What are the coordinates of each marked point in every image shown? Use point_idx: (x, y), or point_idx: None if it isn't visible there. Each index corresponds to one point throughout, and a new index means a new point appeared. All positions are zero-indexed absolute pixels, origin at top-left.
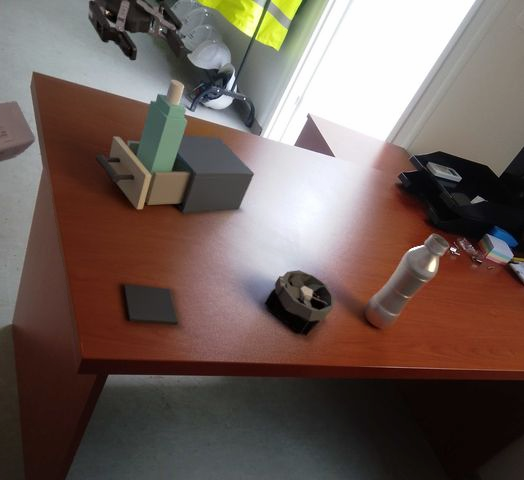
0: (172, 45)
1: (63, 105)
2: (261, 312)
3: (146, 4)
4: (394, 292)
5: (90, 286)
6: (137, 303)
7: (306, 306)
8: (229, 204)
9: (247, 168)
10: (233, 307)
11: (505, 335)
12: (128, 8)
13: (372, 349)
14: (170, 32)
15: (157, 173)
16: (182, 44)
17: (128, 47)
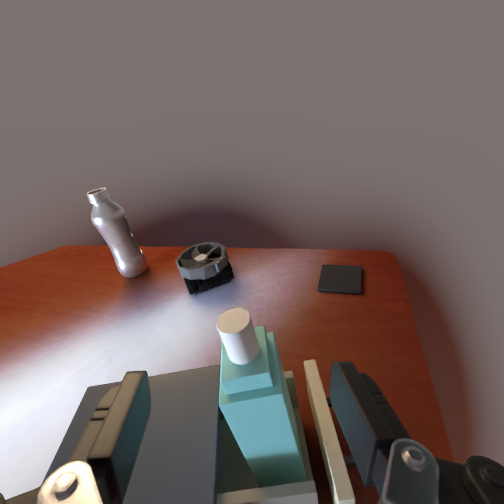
0: (133, 442)
1: None
2: (240, 276)
3: None
4: (132, 237)
5: (392, 293)
6: (352, 276)
7: (218, 244)
8: None
9: (85, 401)
10: (263, 279)
11: (25, 263)
12: None
13: (171, 254)
14: (116, 445)
15: (289, 371)
16: (128, 374)
17: (364, 376)
